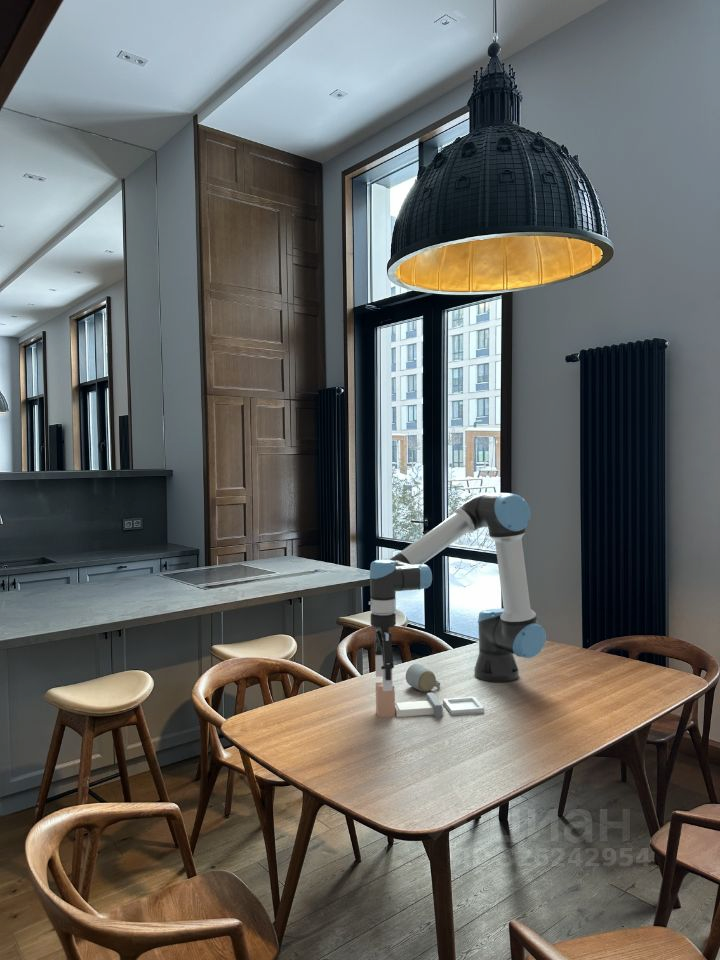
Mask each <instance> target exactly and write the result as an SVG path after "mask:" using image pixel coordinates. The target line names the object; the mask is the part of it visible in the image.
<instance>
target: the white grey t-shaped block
mask: <svg viewBox="0 0 720 960" xmlns="http://www.w3.org/2000/svg"><path fill="white" fill-rule="evenodd" d="M442 704H443V703H441V702H440V700H439V699H438V697H437V696H436V694H435V693H434V692H426V700H419V701H417V700H416V701H406V702H404V701H403V702H402V701H401V702H395V716H396V717H398V718H400V717H401V718H403V717H413V716H414V717H415V716H425V715H427V716H428V715H429V716H430V715H434V717H435V718H442V717H443V714H444V706H443V705H442Z"/></svg>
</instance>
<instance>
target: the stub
mask: <svg viewBox="0 0 720 960" xmlns="http://www.w3.org/2000/svg"><path fill="white" fill-rule="evenodd" d="M395 701H396V691H395V685H394V683H393V682H392V691H383V681H382V682H375V705H376V706H375V712H376V715H377V717H378V718H384V717H385V718H386V717H395V716H396V713H395V703H396V702H395Z"/></svg>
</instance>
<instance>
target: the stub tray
mask: <svg viewBox="0 0 720 960" xmlns="http://www.w3.org/2000/svg"><path fill="white" fill-rule="evenodd" d="M442 704H443V705H444V707H445V708H446V711H448V712H449V713H450V715H451V716H462V715H474V714H477V715H478V714H485V707H484V705H482V703H481V702H480V701H479V700H478V699H477V698H476V697H475V696H463V697H462V696H461V697H449V698H442Z"/></svg>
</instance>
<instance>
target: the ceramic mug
mask: <svg viewBox="0 0 720 960" xmlns="http://www.w3.org/2000/svg"><path fill="white" fill-rule="evenodd" d="M405 680H406V683H407V684H408V685H409V687H412V688H414V689H416V690H418V691H420V692H423V693H429V692H430V691H432V690H433V689H434V687H435V688H439V687H440V686H441V682H440V681H438V680H437V678H436V675H435V673H434V672H432V671H431V670H430V669H428V668H427V667H425V666H424V665H422V664H421V663H413V664H411V665H410V666H409V667H408V668H407V670H406V673H405Z"/></svg>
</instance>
